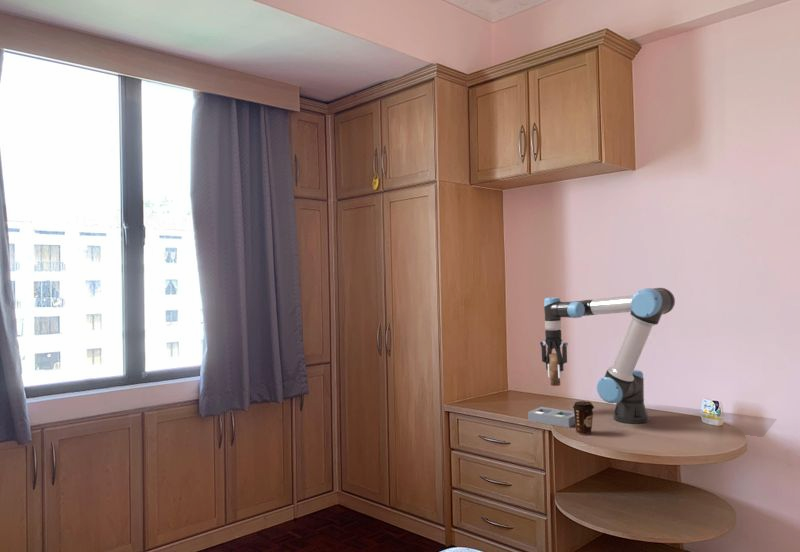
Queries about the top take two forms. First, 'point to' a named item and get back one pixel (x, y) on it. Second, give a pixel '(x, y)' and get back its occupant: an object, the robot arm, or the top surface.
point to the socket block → (552, 416)
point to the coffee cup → (583, 417)
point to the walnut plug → (554, 370)
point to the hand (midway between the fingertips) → (555, 377)
